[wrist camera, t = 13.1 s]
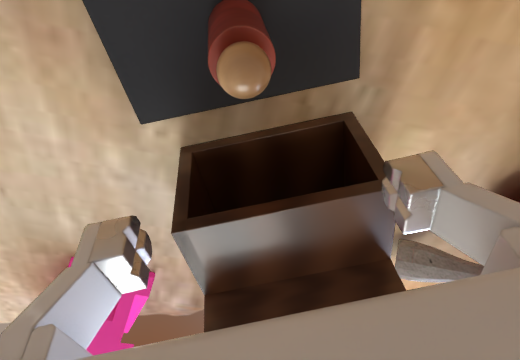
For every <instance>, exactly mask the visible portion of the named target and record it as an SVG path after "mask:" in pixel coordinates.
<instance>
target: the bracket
mask: <svg viewBox="0 0 520 360" xmlns="http://www.w3.org/2000/svg"><path fill="white" fill-rule="evenodd" d="M73 259H74V257H72V258H71V260H70V263H69V266H68V267H71V265H72V262H73ZM154 277H155V273H153V272H149V278H148V285H147V288H146V289H142V290H138V291H134V292H130V293H125V294H121V295H122V296H121V298H120V299H119V301H118V302H117V304H116V305H115V307H114V308H113V310H112V311H111V313H110V314H109V316H108V317H107V319H106V320H105V322H104V323H103V325H102V326H101V328H100V329H99V331H98V332H97V334H96V335H95V337H94V338H93V340H92V341H91V343H90V345H89V346H88V348H87V349H86V350H87V351H88V352H90V353H91V354H92V355H99V354H103V353H108V352H113V351H118V350H123V349H128V348H132V347H133V346H134V345H133V344H125V343H120V342H121V339H122V336H123V333H128V331H129V330H130V328H131V326H132V324H133V323H134V321H135V319H136V318H137V316H138V314H139V312H140V311H141V309H142V307H143V306H144V304H145V302H146V300H147V299H148V297H149V294H150V291H151V288H152V284H153V281H154Z"/></svg>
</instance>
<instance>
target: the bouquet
mask: <svg viewBox="0 0 520 360" xmlns="http://www.w3.org/2000/svg"><path fill="white" fill-rule="evenodd" d="M516 202H519V203H520V201H516ZM483 268H484V266H483V265H480V264H475V263H472V262H469V261H466V260H463V259H461V258H458V257H455V256H453V255H450V254H448V253H446V252H443V251H441V250H438V249H436V248H433V247H431V246H427V245H424V244H421V243H418V242H414V241H409V240H402V239H399V243H398V249H397V255H396V263H395V269H396V271H397V273H398V275H399V277H400V278H402V279H406V280H410V281H420V282H450V281H455V280H460V279H465V278H470V277H475V276H479V275H480V274H481V272H482V270H483Z"/></svg>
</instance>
